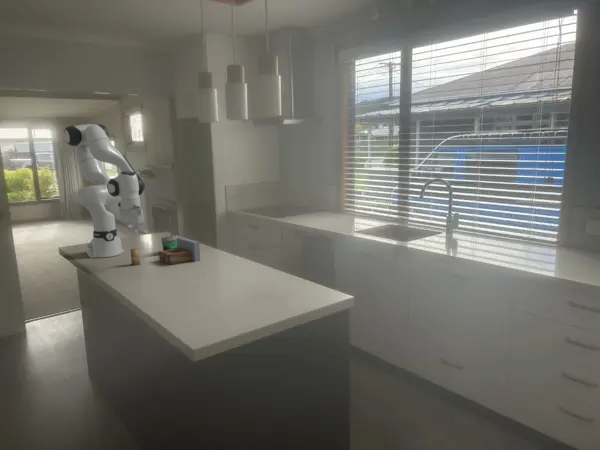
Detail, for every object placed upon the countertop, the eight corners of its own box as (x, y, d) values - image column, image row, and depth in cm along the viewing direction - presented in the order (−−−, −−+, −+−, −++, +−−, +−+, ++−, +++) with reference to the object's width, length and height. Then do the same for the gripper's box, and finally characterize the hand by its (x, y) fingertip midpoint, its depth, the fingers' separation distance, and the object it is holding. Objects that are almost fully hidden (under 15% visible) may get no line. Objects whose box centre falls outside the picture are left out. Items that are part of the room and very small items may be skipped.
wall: (177, 255, 239) (176, 237, 238) (182, 254, 241) (181, 237, 240) (195, 261, 227) (194, 242, 225) (200, 260, 229) (199, 241, 227)
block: (159, 260, 229) (159, 251, 228) (180, 256, 237) (179, 247, 236) (171, 264, 221) (170, 255, 220) (192, 260, 229) (191, 251, 228)
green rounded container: (172, 255, 239) (171, 238, 238) (162, 255, 241) (161, 237, 239) (183, 250, 251) (181, 233, 250) (173, 250, 253) (171, 233, 251)
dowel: (130, 264, 223) (129, 249, 222) (138, 263, 226) (136, 247, 225) (133, 266, 220) (132, 250, 219) (141, 264, 223) (140, 249, 222)
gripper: (146, 205, 212) (148, 233, 215) (128, 202, 227) (130, 228, 229) (133, 206, 208) (136, 235, 211) (116, 203, 223) (118, 229, 225)
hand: (133, 231), depth 220 cm, fingers open, 5 cm apart
